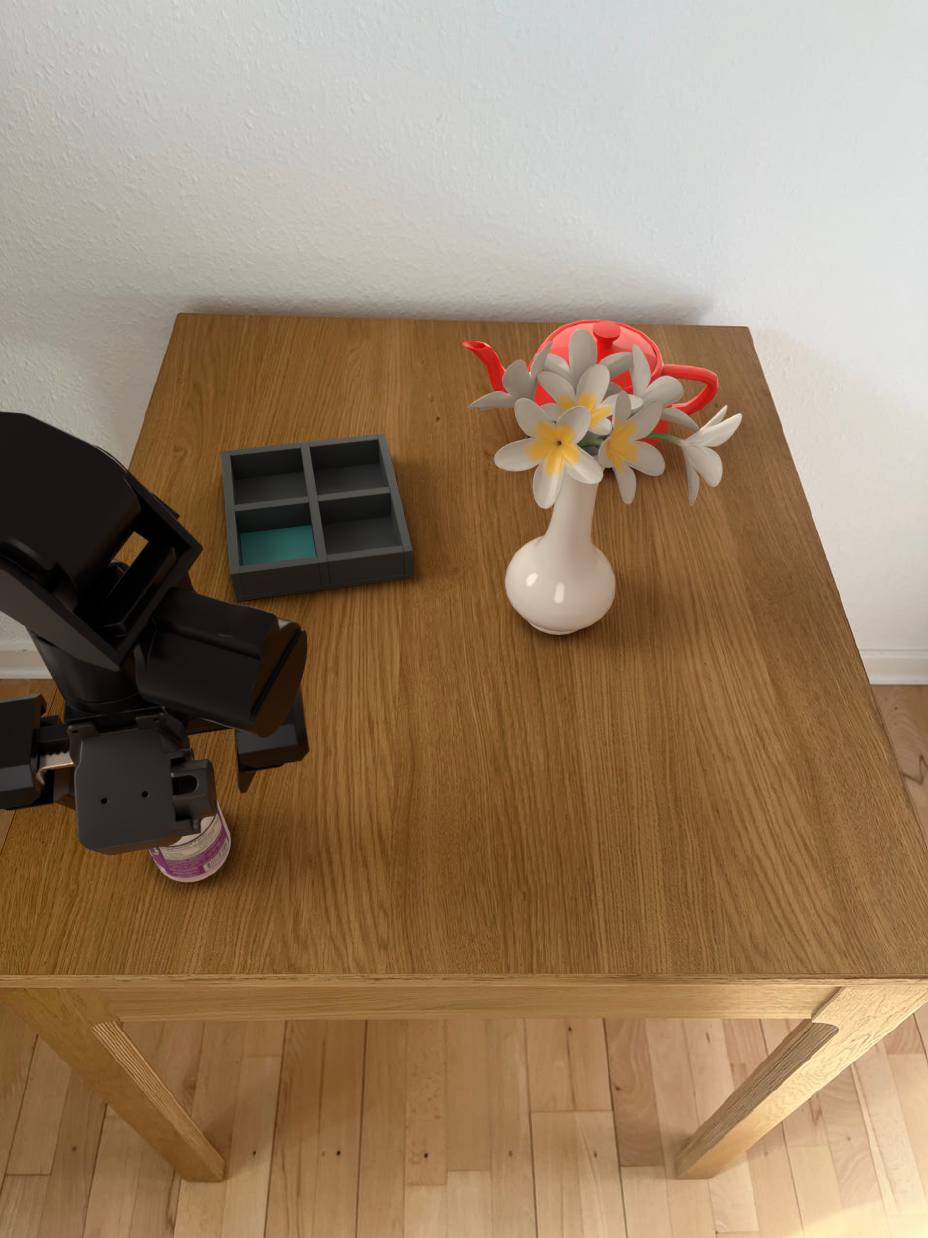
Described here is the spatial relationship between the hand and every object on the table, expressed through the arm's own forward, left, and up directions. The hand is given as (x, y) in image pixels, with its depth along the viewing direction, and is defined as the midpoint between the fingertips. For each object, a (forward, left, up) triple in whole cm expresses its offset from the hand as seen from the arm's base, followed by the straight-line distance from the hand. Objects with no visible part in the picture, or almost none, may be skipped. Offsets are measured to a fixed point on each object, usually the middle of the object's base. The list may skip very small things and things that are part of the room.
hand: (171, 798), depth 61 cm
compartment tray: (+12, +30, -8) cm, 33 cm away
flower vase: (+32, +17, -8) cm, 37 cm away
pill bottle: (0, 0, -8) cm, 8 cm away
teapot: (+40, +39, -8) cm, 56 cm away
